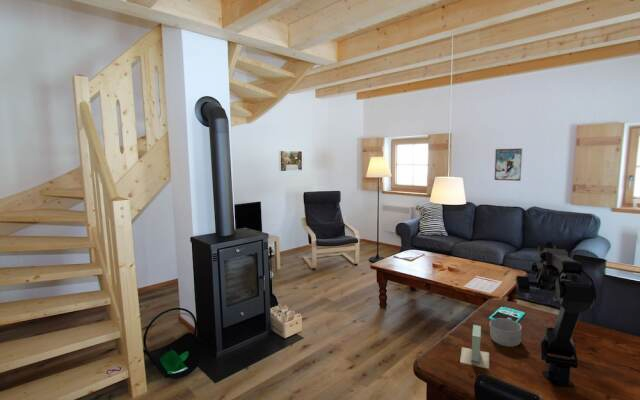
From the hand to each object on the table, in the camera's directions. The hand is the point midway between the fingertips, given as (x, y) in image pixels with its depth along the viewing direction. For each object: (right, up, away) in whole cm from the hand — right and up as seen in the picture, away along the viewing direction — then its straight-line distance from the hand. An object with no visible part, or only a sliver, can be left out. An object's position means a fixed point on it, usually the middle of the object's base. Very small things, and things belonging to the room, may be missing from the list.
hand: (540, 298), depth 134 cm
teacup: (-14, -17, -2) cm, 22 cm away
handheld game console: (-3, -14, +18) cm, 23 cm away
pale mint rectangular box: (-31, -17, -14) cm, 38 cm away
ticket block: (-33, -18, -13) cm, 40 cm away
